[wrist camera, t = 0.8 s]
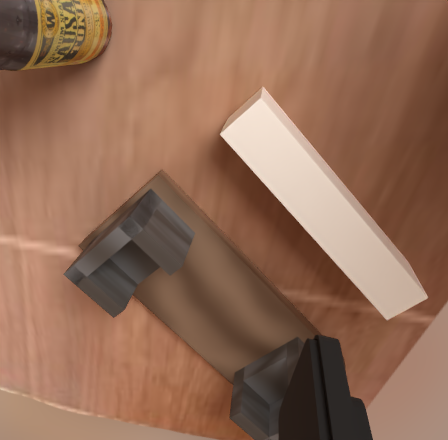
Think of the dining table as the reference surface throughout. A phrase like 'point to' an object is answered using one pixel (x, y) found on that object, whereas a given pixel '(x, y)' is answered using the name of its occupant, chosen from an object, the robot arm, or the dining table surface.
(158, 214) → the end cap frame
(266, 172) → the slat
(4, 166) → the dining table surface
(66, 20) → the sauce bottle
